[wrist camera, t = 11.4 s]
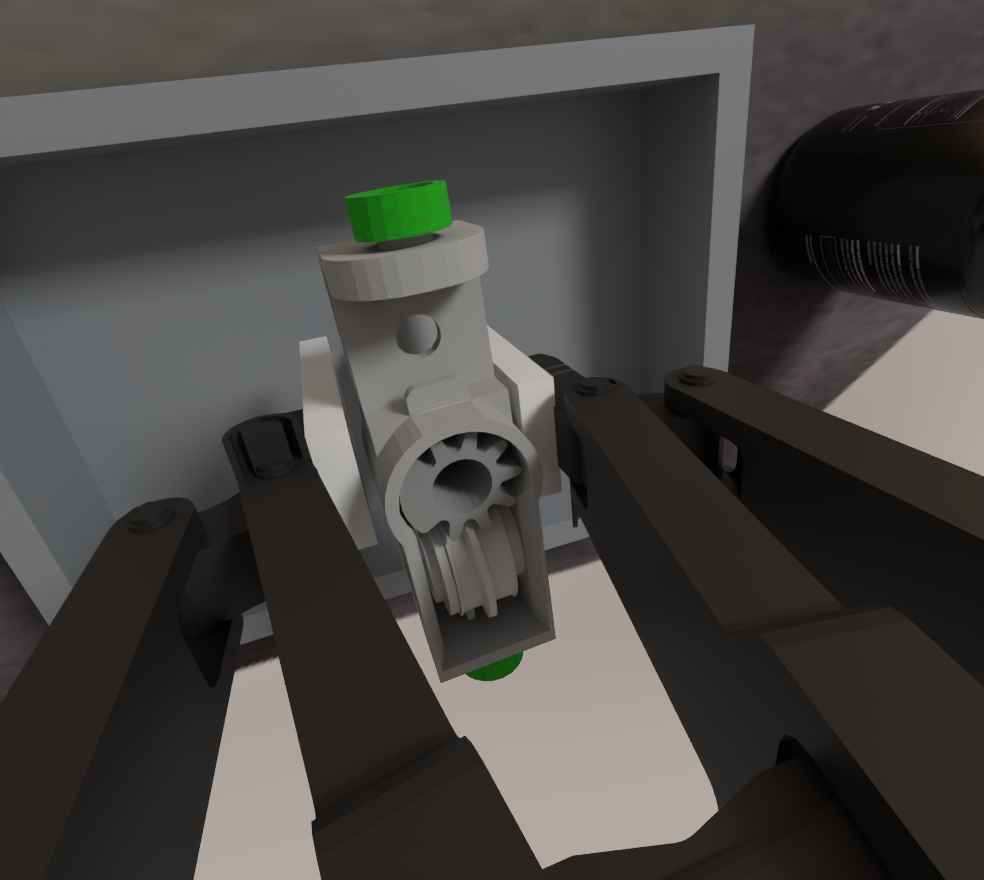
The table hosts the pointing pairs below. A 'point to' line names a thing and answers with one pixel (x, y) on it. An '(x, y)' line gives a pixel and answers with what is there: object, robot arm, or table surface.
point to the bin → (325, 221)
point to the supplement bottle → (889, 203)
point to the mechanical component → (441, 427)
